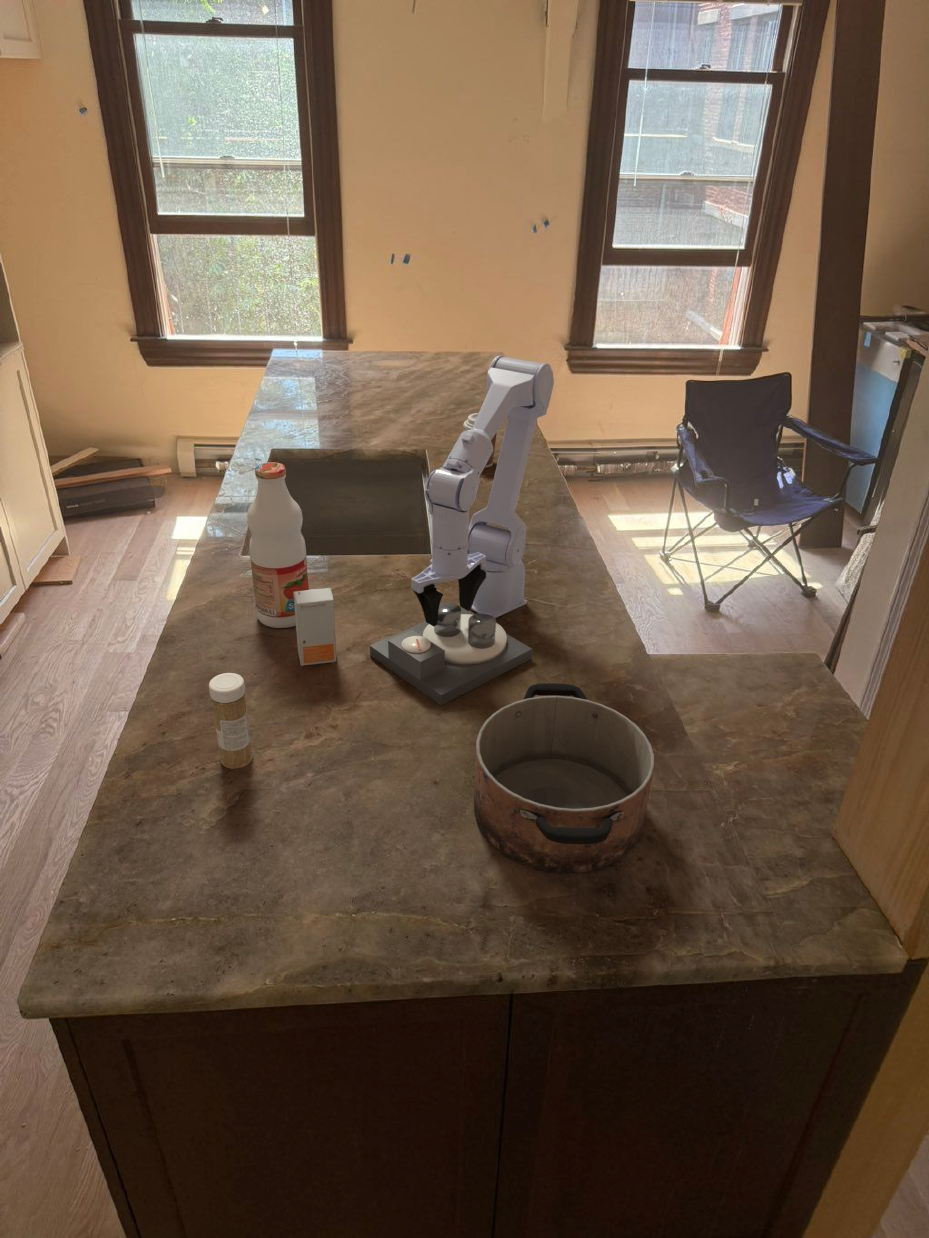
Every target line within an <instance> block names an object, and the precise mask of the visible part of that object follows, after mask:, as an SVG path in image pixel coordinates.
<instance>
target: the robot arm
mask: <svg viewBox="0 0 929 1238" xmlns="http://www.w3.org/2000/svg"><path fill="white" fill-rule="evenodd" d="M553 371H554V370H553V369H552V367H551V365H550V364H549V363H546V362H543V363H542V362H535V361H529V360H525V359H519V358H513V357H506V356H504V355H497V356H495V357H494V358H493V360H492V361H491V362H490V364H489V367H488V370H487V374H486V391H487V394H486V396H485V398H484V400H483V403H482V405H481V407H480V409H479V412H477V413H478V416H477V418H476V420H475V423H474V425H473V427H472V429H471V430H466V429H465V430H463V431H462V432H461V434H460V435H459V437H458V438H457V440H456V442H455V444H454V445H453V447H452V450H451V451H450V452H449V454H448V456H447V457H446V460H445V461H444V463H443V465H442V466H441V467H439V468H438V469H434V470H432V471H431V473H430V474H429V476H428V479H427V482H426V485H425V490H424V496H425V497H424V498H425V500H426V501H427V503H428V512H429V514H430V515H431V517H432V518H431V519H432V523H431V524H432V527H431V528H432V529H431V531H432V533H431V534H432V535H431V536H432V537H431V540H432V541H431V544H432V548H431V549H432V550H431V559H429V565H428V566H427V567H426V568H425V569H423V571H421V572H420V573H419V574H418V575H415V576H414V577H412V578H411V579H410V582H411V584H410V588H411V591H413V593H414V595H415V596H416V597H417V600H418V602H419V603H420V606H421V609H422V612H423V616H424V620H425V621H426V622H427V623H428V624H430V625H432V626H436V625H437V622H438V610H439V605H440V604H441V601H442V598H443V597H444V594H443V593H441V592H440V591H438V589H437V587H435V586H436V585H437V584H440V583H443V582H444V583H446V582H450V581H451V582H452V581H457V582H458V596H459V597H458V603H459V606H460V607H462V608H463V609H465V610H467V611H468V612H470V611H471V610H472V611H474V612H475V613H476V614H488V615H491V616H493V617H494V618H495V619H496V618H500V616H501V617H502V616H503V615H505V614H507V613H510V612H512V611H515V610H516V609H518V608H520V607H523V606H524V605H527V602H528V601H527V600H526V599H525V597H524V596H525V587H526V586H525V585H526V584H525V583H526V568H525V565H524V563H523V560H522V559H523V557H524V554H525V550H526V535H527V529H528V527H527V526H526V524H525V523H524V521H523V520H522V519H521V518H520V516H519V515H518V513H517V512H516V509H517V505H518V500H519V497H520V492H521V489H522V488H521V487H522V483H523V480H524V475H525V472H526V468H527V463H528V459H529V456H530V455H529V454H530V451H531V447H532V443H533V438H534V433H535V429H536V426H537V422H538V419H539V418H540V417H541V418H542V417H544V416H546V415H547V411H548V408H549V406H550V401H551V397H552V393H553V390H554V384H555V379H554V372H553ZM506 419H507V422H506V425H505V430H504V434H503V439H502V442H501V446H500V451H499V454H498V459H497V463H496V468H495V473H494V475H493V476H494V477H493V481H492V485H491V489H490V494H489V496H488V502H487V506H486V507H485V508H483V509H480V510H479V511H477V512H475V513H474V514H472V517H471V518H470V509H471V508H472V506H473V505H474V504H475V501H476V498H477V495H478V488H479V486H480V483H481V478H480V476H481V474H482V473H483V470H484V469H485V468H484V467H485V465H486V463H487V462H488V460H489V458H490V456H491V454H492V452H493V445H492V442H491V440H492V438H493V437H494V435H495V434H496V432H497V433H498V431H499V430H500V429H499V428H501V427H502V425H503V423H504V422H505V421H506ZM498 429H499V430H498ZM490 524H492V525H490ZM493 525H495V526H493ZM497 526H500V527H503V528H500V527H497ZM504 528H506V529H504Z"/></svg>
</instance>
